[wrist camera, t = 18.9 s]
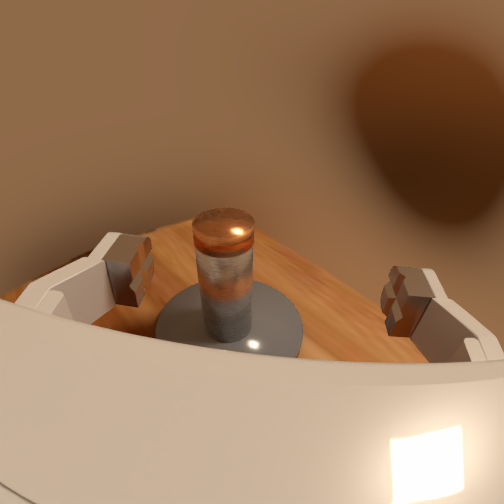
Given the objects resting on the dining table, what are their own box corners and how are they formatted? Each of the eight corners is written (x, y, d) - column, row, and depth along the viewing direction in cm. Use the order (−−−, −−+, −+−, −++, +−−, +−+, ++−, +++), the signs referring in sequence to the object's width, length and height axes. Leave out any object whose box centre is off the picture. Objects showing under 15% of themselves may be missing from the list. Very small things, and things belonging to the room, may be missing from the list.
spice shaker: (199, 340, 28) (185, 236, 22) (208, 305, 32) (200, 206, 26) (249, 345, 28) (251, 240, 22) (254, 309, 32) (256, 209, 25)
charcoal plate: (138, 380, 25) (135, 373, 25) (179, 280, 37) (178, 272, 36) (300, 401, 24) (302, 394, 24) (301, 291, 36) (302, 283, 35)
